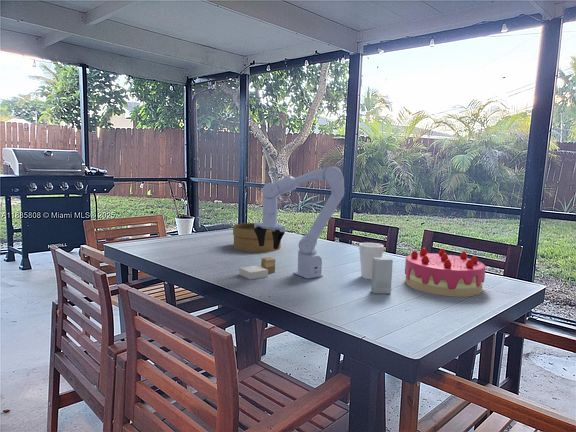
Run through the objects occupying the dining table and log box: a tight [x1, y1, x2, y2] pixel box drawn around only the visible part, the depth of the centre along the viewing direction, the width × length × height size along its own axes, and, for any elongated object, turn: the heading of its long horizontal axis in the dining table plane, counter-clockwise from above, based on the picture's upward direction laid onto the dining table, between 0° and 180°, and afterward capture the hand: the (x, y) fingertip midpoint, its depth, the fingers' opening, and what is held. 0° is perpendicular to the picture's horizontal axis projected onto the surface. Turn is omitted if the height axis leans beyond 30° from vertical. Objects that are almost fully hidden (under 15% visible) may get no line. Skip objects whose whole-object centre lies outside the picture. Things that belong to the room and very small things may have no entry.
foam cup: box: [358, 242, 385, 280], centre depth 166 cm, size 10×9×13 cm
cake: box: [404, 247, 486, 297], centre depth 158 cm, size 28×28×12 cm
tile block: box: [238, 265, 269, 280], centre depth 162 cm, size 8×8×3 cm
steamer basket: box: [232, 222, 282, 253], centre depth 217 cm, size 25×25×11 cm
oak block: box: [260, 256, 276, 274], centre depth 168 cm, size 4×4×6 cm
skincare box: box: [370, 257, 394, 295], centre depth 146 cm, size 6×4×12 cm
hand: (268, 247), depth 168 cm, fingers open, 7 cm apart
